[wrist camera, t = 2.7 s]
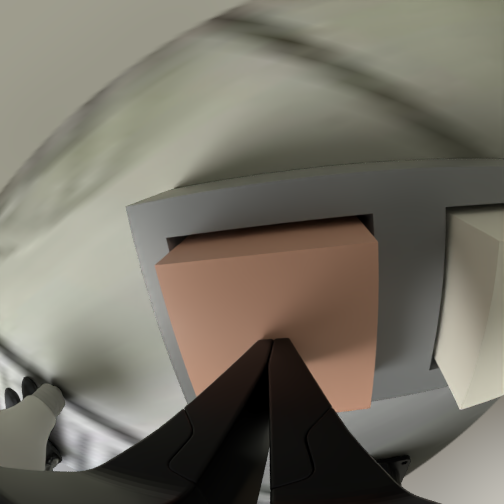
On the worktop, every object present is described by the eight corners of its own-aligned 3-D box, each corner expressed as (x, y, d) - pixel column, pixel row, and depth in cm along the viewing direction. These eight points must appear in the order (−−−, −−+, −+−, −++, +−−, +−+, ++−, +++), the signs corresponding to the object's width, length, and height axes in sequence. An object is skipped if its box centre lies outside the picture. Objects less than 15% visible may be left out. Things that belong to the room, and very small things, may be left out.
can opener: (69, 465, 26) (51, 493, 21) (28, 435, 26) (8, 461, 21) (61, 396, 20) (28, 438, 15) (7, 354, 20) (-29, 386, 15)
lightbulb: (61, 360, 18) (-27, 458, 8) (100, 419, 20) (38, 517, 9) (22, 359, 19) (-53, 434, 9) (57, 412, 21) (-2, 489, 11)
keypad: (510, 314, 12) (545, 352, 9) (211, 354, 15) (189, 408, 12) (524, 159, 10) (576, 169, 6) (172, 189, 13) (125, 206, 9)
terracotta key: (353, 335, 13) (370, 407, 8) (228, 344, 14) (203, 414, 9) (348, 207, 11) (378, 241, 7) (202, 224, 12) (154, 265, 8)
